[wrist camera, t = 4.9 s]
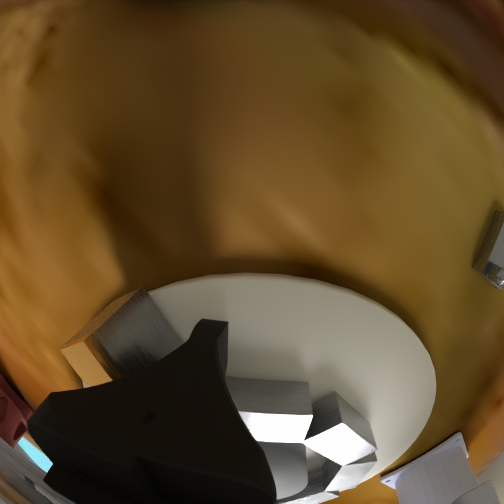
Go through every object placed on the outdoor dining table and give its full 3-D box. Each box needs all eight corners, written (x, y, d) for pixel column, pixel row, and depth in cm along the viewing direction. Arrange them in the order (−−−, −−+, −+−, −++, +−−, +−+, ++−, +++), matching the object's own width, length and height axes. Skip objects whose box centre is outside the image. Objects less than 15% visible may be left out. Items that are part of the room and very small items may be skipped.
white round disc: (456, 421, 13) (473, 453, 9) (240, 509, 18) (237, 536, 14) (294, 153, 9) (308, 139, 6) (50, 381, 14) (24, 410, 11)
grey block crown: (428, 306, 9) (480, 360, 5) (331, 490, 14) (335, 529, 10) (111, 280, 10) (49, 327, 6) (164, 475, 15) (151, 513, 11)
